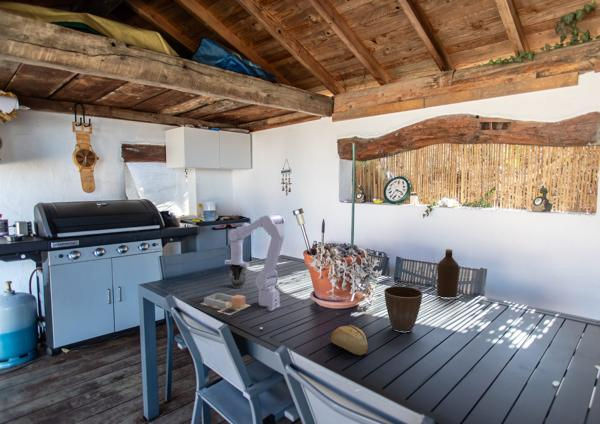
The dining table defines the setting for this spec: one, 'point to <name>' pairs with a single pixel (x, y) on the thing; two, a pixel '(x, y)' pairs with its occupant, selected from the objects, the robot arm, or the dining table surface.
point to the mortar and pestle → (241, 280)
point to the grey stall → (217, 303)
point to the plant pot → (402, 306)
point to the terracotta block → (238, 301)
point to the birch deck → (228, 305)
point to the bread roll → (350, 339)
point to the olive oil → (447, 276)
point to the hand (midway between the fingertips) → (236, 279)
